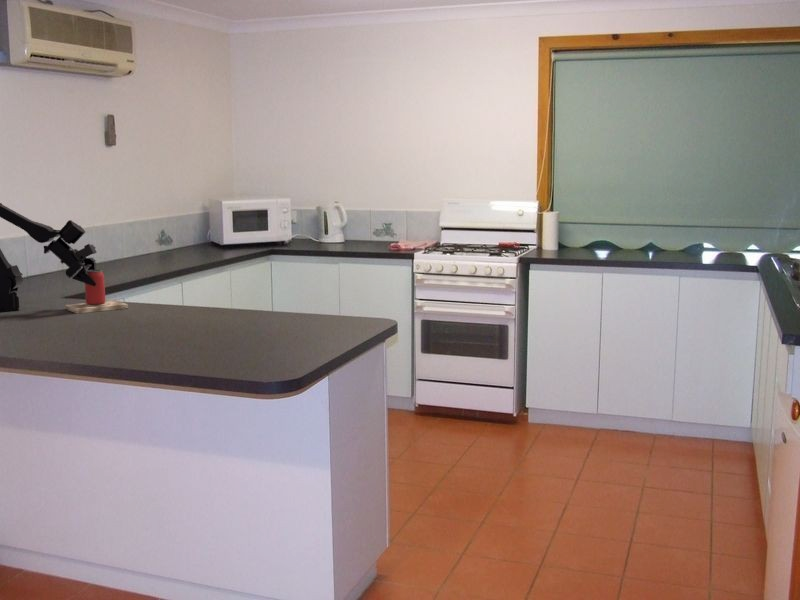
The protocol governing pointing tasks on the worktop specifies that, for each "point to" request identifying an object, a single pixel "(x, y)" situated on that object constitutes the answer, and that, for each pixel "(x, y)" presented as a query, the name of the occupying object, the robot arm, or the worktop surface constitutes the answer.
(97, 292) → the beer can
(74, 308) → the ash board
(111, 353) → the worktop surface
